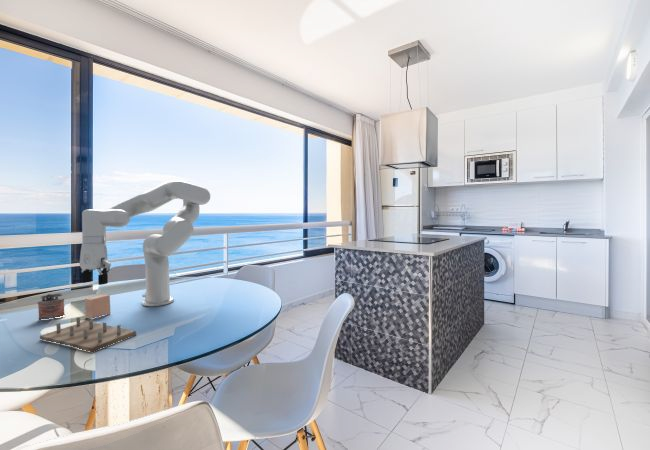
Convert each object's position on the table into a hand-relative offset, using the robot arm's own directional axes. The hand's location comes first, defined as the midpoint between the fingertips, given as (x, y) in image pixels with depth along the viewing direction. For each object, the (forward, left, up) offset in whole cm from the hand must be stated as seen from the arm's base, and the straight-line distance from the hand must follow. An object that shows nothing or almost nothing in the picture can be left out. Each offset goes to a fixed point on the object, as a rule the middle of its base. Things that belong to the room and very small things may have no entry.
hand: (94, 283), depth 122 cm
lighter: (-15, -7, -14) cm, 22 cm away
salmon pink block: (0, +1, -14) cm, 14 cm away
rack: (+19, -14, -14) cm, 28 cm away
